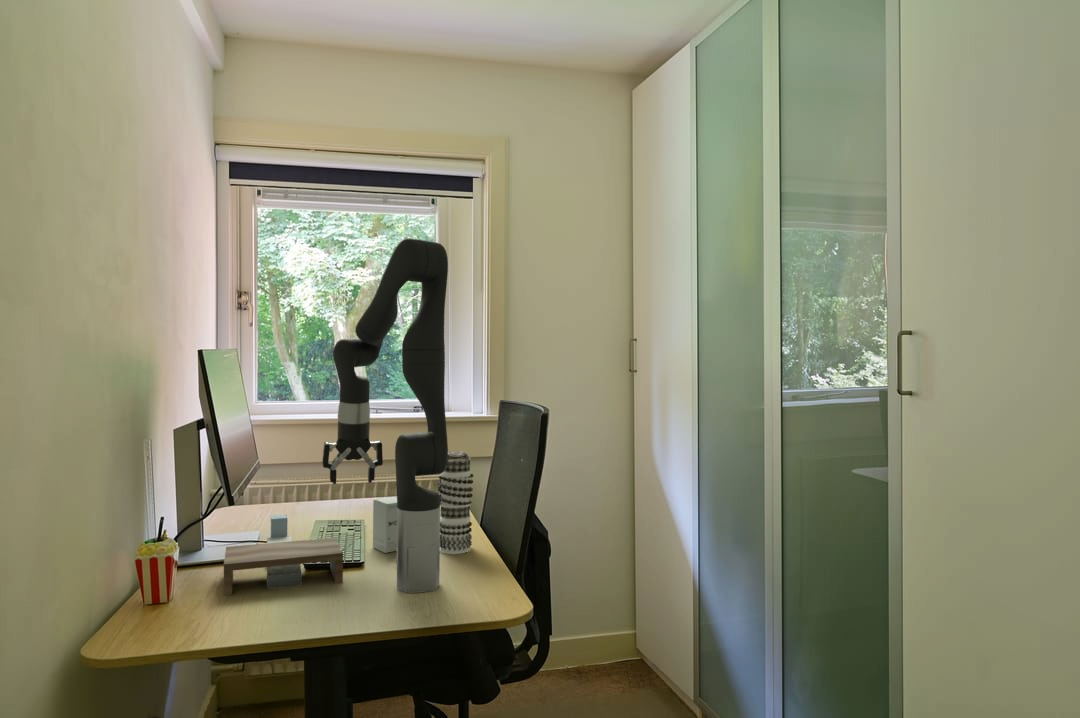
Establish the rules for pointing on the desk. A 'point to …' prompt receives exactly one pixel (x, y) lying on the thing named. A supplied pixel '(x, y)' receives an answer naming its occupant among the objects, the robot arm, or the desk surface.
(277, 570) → the grey flat block
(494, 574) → the desk surface
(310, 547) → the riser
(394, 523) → the supplement box
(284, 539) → the grey bar
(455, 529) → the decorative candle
